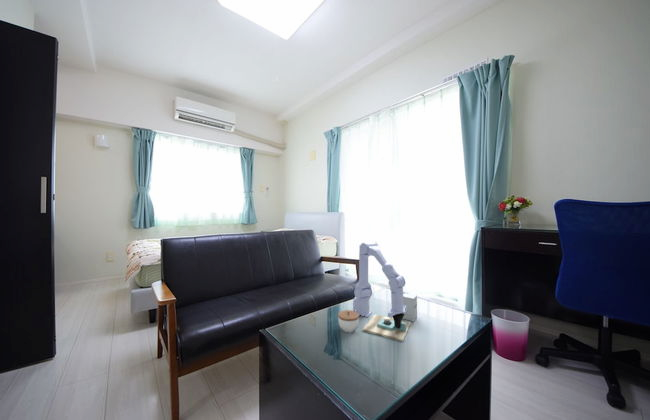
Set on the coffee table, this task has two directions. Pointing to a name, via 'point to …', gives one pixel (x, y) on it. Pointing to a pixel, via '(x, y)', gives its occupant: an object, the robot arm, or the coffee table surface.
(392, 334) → the board
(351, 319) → the lidded jar
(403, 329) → the angular block
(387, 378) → the coffee table surface
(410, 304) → the supplement box
